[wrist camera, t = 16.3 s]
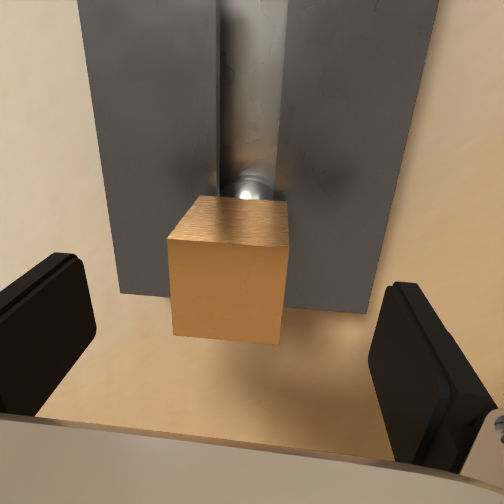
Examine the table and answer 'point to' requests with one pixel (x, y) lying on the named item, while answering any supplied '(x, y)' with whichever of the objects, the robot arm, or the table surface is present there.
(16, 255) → the table surface
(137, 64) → the keyhole track
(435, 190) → the table surface
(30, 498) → the robot arm
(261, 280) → the peg
